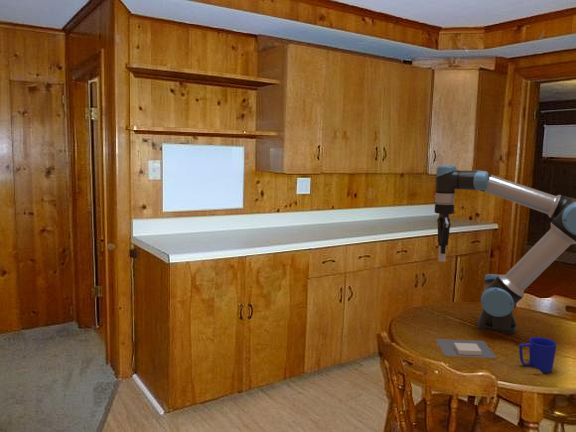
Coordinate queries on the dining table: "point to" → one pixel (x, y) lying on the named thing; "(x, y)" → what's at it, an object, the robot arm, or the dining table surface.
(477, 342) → the board
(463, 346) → the tile
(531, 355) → the mug
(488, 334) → the dining table surface
